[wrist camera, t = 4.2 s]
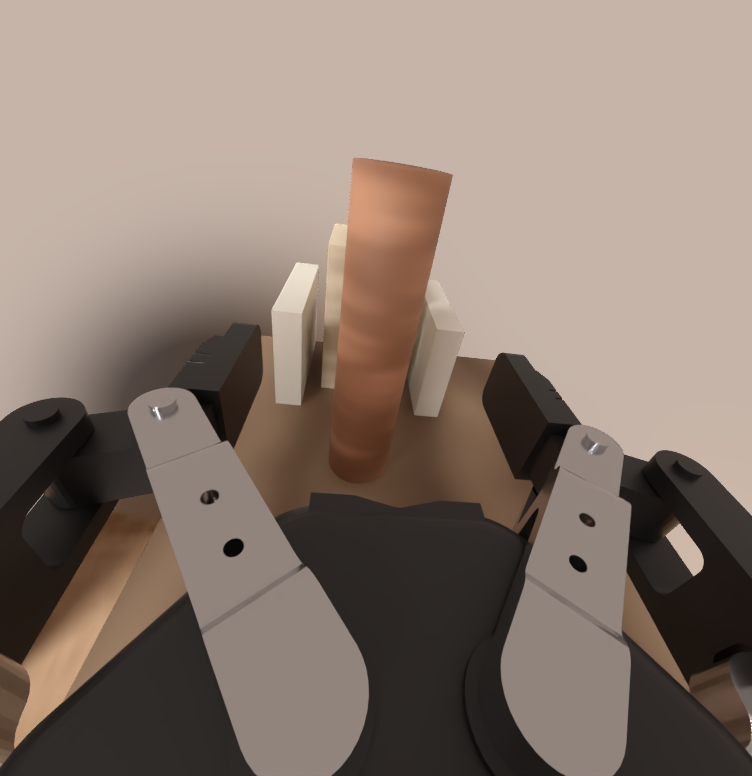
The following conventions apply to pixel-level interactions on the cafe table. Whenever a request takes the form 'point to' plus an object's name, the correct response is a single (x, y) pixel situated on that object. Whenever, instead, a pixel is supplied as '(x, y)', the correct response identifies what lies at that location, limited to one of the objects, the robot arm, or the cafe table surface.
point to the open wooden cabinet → (355, 488)
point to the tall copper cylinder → (376, 306)
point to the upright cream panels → (298, 339)
